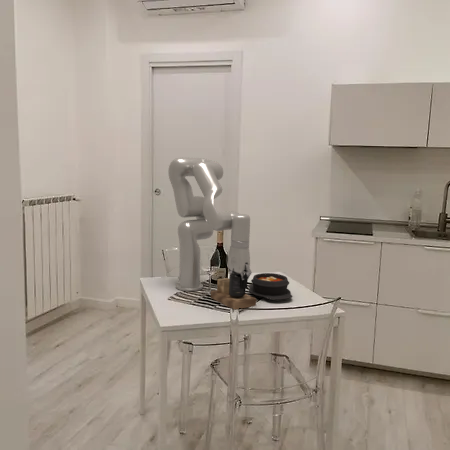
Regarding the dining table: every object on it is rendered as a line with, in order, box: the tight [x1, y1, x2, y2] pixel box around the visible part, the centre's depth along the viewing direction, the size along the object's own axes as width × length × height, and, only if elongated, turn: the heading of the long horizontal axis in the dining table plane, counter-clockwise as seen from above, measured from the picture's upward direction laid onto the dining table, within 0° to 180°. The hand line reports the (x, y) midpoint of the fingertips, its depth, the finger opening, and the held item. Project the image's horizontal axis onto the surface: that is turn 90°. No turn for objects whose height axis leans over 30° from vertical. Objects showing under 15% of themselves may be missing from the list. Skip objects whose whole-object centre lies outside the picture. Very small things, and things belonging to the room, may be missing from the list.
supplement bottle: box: [228, 268, 246, 298], centre depth 194 cm, size 7×7×12 cm
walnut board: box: [210, 289, 257, 310], centre depth 198 cm, size 18×11×3 cm, turn 33°
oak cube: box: [216, 277, 229, 293], centre depth 203 cm, size 5×5×5 cm
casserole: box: [248, 272, 293, 301], centre depth 209 cm, size 25×19×8 cm
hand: (238, 286), depth 194 cm, fingers open, 6 cm apart
